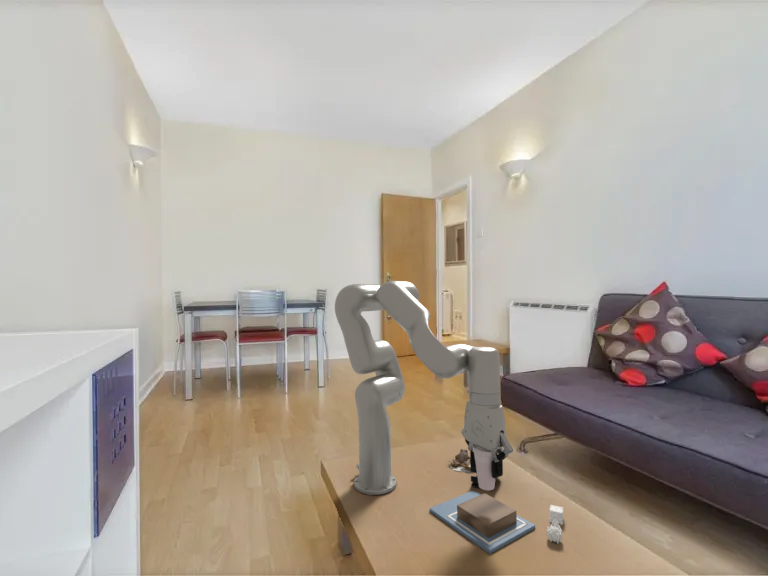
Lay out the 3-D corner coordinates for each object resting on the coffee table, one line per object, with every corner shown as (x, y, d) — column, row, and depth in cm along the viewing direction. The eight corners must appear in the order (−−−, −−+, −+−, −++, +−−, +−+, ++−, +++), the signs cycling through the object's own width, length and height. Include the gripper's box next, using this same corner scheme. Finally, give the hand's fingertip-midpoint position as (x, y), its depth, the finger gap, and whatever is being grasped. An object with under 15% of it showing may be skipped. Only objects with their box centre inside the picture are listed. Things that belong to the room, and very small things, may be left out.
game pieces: (549, 516, 99) (549, 504, 99) (564, 520, 97) (563, 507, 97) (545, 543, 88) (545, 529, 88) (562, 547, 87) (561, 533, 87)
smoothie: (501, 494, 92) (499, 434, 92) (473, 492, 93) (472, 433, 93) (498, 481, 98) (497, 425, 98) (472, 479, 100) (471, 424, 100)
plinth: (457, 517, 97) (457, 505, 97) (484, 504, 103) (484, 493, 103) (488, 538, 89) (488, 524, 89) (516, 523, 94) (516, 510, 94)
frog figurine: (446, 456, 136) (446, 445, 136) (482, 460, 133) (482, 449, 133) (442, 471, 125) (441, 459, 125) (480, 475, 122) (480, 463, 122)
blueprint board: (429, 511, 101) (429, 507, 101) (473, 493, 110) (473, 489, 110) (489, 553, 85) (489, 549, 85) (535, 528, 94) (535, 524, 94)
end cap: (495, 493, 110) (494, 469, 110) (470, 487, 114) (470, 464, 114) (502, 478, 119) (502, 455, 119) (479, 473, 122) (479, 451, 122)
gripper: (449, 393, 101) (450, 463, 101) (502, 408, 87) (504, 490, 87) (469, 388, 105) (471, 455, 105) (524, 403, 91) (526, 480, 91)
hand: (486, 470), depth 96 cm, fingers closed on smoothie, 6 cm apart
